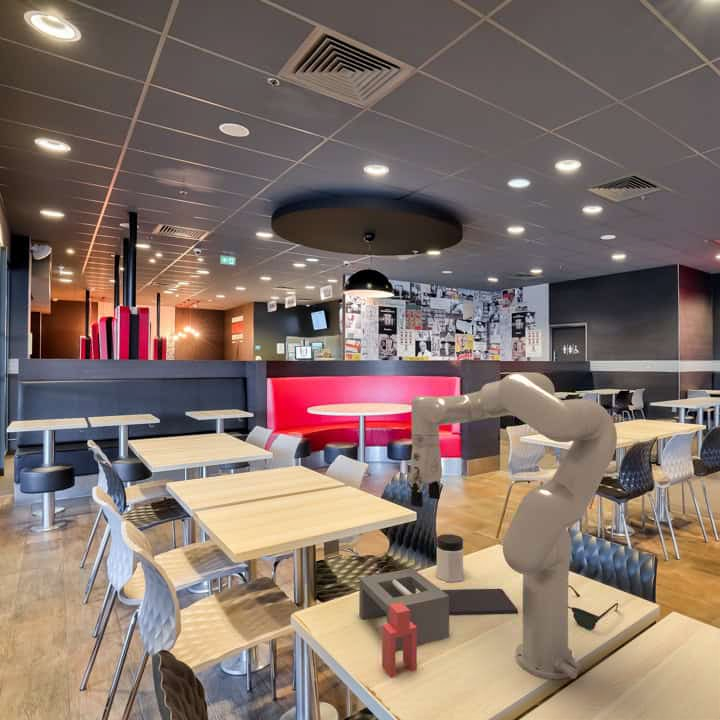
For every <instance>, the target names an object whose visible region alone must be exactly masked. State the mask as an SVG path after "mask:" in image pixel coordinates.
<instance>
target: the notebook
mask: <svg viewBox="0 0 720 720" xmlns="http://www.w3.org/2000/svg"><path fill="white" fill-rule="evenodd" d="M441 590H442V591H443V592H444V593H446V594H447V595H448V596H449V616H477V615H516V614H517V615H519V609H518V608H517V607H516V605H515V604H514V603H513V602H512V600H511V599H510V597H509V596H508V595H507V594H506V592H505V591H504V589H502V588H469V589H468V588H467V589H463V588H462V589H441Z"/></svg>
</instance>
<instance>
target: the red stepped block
mask: <svg viewBox="0 0 720 720" xmlns="http://www.w3.org/2000/svg"><path fill="white" fill-rule="evenodd" d="M381 628H382V629H381V652H382V653H381V667H382V669H383V670H384V671H385V672H386V674H387V675H388V676H389V677H390V678H393V677H396V661H397V660H396V659H397V657H396V652H397V651H396V638H398V637H402V636H403V649H402V662H403V663H404V665H406V667H407V668H408V669H409V670H410V671H411V672H414V671H417V666H418V664H417V663H418V662H417V660H418V658H417V656H418V654H417V650H418V648H417V647H418V646H417V627H416V626H415V625H414V624H413V623H412V622H411V621H410V610H409V609H408V608H407V607H406V606H405V605H404V604H403V603H401V602H399V603H395V604H390V605H389V623H387V622H386V623H382V626H381Z"/></svg>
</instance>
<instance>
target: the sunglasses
mask: <svg viewBox="0 0 720 720" xmlns="http://www.w3.org/2000/svg"><path fill="white" fill-rule="evenodd" d="M569 587H570V588H571V590H572V591H573V592H574V593H575V595H576V597H577V598H580V596H581V595H580V594H579V593H578V592H577V590H576V589H575V588H573V586H572V585H569V584H568V588H569ZM614 607H615V610H614V611H615V612H616V611H617V610H618V607H619V603H618V602H616V603H614V604H612V606H610V607H609V608H608V609H607V610H605V611H604V612H603V613H602V614H600V615H597V614H594V613H591V612H588V611H586V610H584V609H581V608H579V607H574V606H573V607H571V606H569V605H568V609H570V610H571V612H572V613H573V616H572V617H573V619H574V620H575V622H576V624H577V626H579V627H581V628H584V629H586V630H588V631H593V630H594V629H595V628H596V625H597V623H598V622H599V621H600V620H601V619H602V618H603V617H605V616H606V615H607V614H608V613H609V612H611V610H612V609H614Z"/></svg>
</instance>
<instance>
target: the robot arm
mask: <svg viewBox="0 0 720 720" xmlns="http://www.w3.org/2000/svg"><path fill="white" fill-rule="evenodd" d="M509 415H513V416H514V417H516V418H518V419H519V420H520V421H522V422H523V423H524V424H526V425H527V426H529V427H530V428H532V429H533V430H535V431H536V432H537V433H539V434H540V435H542V437H545V438H547V439H548V440H551V441H554V442H557V443H569V442H572V444H571V445H570V447H569V448H568V450H567V451H566V453H564V455H563V457H562V458H561V460H560V463H559V465H558V467H557V469H556V471H555V473H554V474H553V476H552V478H551V479H550V480H549V481H547V482H546V483H543V484H540V485H537V486H535V487H533V488H531V489H529V491H528V492H526V494H525V495H524V496H523V498H522V499H521V500H520V503H519V504H518V506H517V508H516V511H515V513H514V515H513V517H512V520H511V522H510V523H509V526H508V528H507V530H506V532H505V534H504V537H503V539H502V540H503V541H502V555H503V557H504V561H505V562H506V563H507V565H508V566H509V568H511V569H512V570H513V571H514V572H516V573H518V574H521V575H522V643H521V644H519V645H518V646H517V647H516V649H515V660H516V661H517V663H518V664H519V666H521V667H522V668H523V669H524V670H526V671H527V672H530V673H531V674H533V675H535V676H538V677H542V678H546V679H553V680H558V679H559V680H561V679H566V678H568V677H569V678H571V679H572V680H574V679H576V678H577V676H578V672H579V671H581V668H582V667H581V665H580V664H579V663H578V662H576V659H575V658H574V656H573V650H572V649H571V648H569V608H568V606H569V586H568V585H569V574H570V572H569V571H570V564H571V559H572V550H573V549H572V547H573V543H572V539H571V535H570V532H569V531H568V529H567V528H569V527H571V526H573V525H574V524H576V523H578V522H580V521H581V520H582V519H583V517H584V516H585V514H586V512H587V510H588V507H589V506H590V503H591V502H592V500H593V498H594V496H595V494H596V492H597V490H598V489H599V486H600V484H601V482H602V480H603V478H604V477H605V474H606V472H607V470H608V469H609V467H610V465H611V463H612V460H613V457H614V456H615V452H616V448H617V444H618V443H617V442H618V441H617V440H618V434H617V429H616V425H615V423H614V420H613V418H612V416H611V414H610V413H609V412H608V411H607V409H605V407H604V406H602V405H601V404H599V403H598V402H596V401H594V400H590V399H586V398H574V399H573V398H571V399H564V400H562V399H561V398H559V397H557V396H556V395H555V386H554V384H553V382H552V380H551V379H550V378H549V377H548V376H546V375H544V374H542V373H539V372H514V373H510V374H508V375H506V376H505V377H504V378H502V379H500V380H497V381H493V382H489V383H486V384H484V385H483V386H482V387H481V389H480V390H479V391H475V392H471V393H467V394H460V395H447V396H433V395H417V396H414V397H412V399H411V447H412V449H411V455H410V456H411V457H410V473H409V475H408V476H407V481H408V486H409V491H410V493H411V495H410V498H411V500H410V502H411V506H412V507H418V508H422V507H423V506H424V505H423V500H424V499H423V491H422V489H423V486H424V484H425V485H428V498H429V499H431V500H432V499H433V500H440V499H441V497H440V495H441V494H440V493H441V491H440V490H441V489H440V486H441V478H442V477H443V467H442V455H441V454H442V453H441V447H440V428H439V427H440V426H445V425H446V426H447V425H453V424H464V423H469V422H474V421H479V420H484V419H490V418H491V419H495V418H500V417H504V416H505V417H506V416H509Z"/></svg>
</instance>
